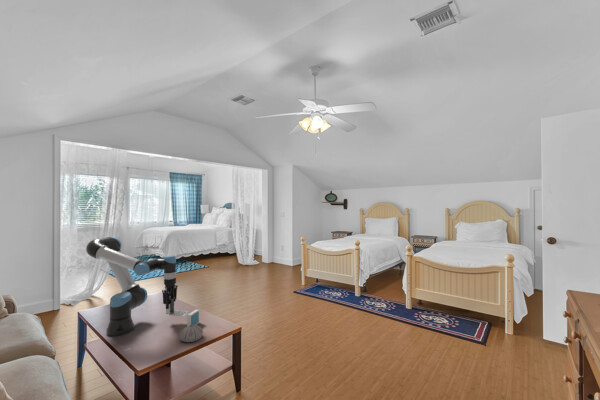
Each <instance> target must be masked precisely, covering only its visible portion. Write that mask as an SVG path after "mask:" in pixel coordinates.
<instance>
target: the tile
mask: <svg viewBox="0 0 600 400" xmlns="http://www.w3.org/2000/svg"><path fill="white" fill-rule="evenodd" d="M199 323H200V309H194V310H193V311H192V312H190V313H188V314H187V315H186V326H189V325H192V324H194V325H198V324H199Z"/></svg>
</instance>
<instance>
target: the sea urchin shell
mask: <svg viewBox="0 0 600 400" xmlns="http://www.w3.org/2000/svg"><path fill="white" fill-rule="evenodd" d="M203 333H204V331H203V329H202V327H201V326H199V325H198V324H197V325H194V324H192V325H189V326H187V325H186V326H185V327H184V328H182V329H181V331H180V333H179V339H180V341H181V342H183V343H194V342H197V341H198V340H200V339H202V337H203Z"/></svg>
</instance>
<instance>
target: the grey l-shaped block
mask: <svg viewBox="0 0 600 400" xmlns="http://www.w3.org/2000/svg"><path fill="white" fill-rule="evenodd" d="M174 298H175V297H174ZM174 298H170V302H169V304H170V313H169V314H168V313H166V312H165V314H167V315H169V316H172V317H173V316H175V317H185V316H187V315H188V314H189V313H191V312H190V310H181V309H175V302H174Z"/></svg>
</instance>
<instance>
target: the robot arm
mask: <svg viewBox="0 0 600 400" xmlns="http://www.w3.org/2000/svg"><path fill="white" fill-rule="evenodd" d="M121 249H122V242H121V240H120V239H119V238H117V237H114V236H113V237H110V236H109V237H108V236H107V237H102V238H94V239H92V240H90V241H89V242H88V243H87V245H86V248H85V250H86V253H87V254H88V256H89V257H91V258H94V259H96V260H104V261H106V262H107V264H108V266H109V267H110V269H111V272H112V274H113V275H114V277H115V279H116V281H117V283H118V284H119V287H120V289H121V292H119V293H115V294H114V295H112V296H111V297H110V299H109V322H108V324H107V328H106V332H105V333H106V335H107V336H108V337H109V336H110V337H115V336H122V335H125V334H128V333H131V332H132V331H133V330H134V329H135V324H134V321H133V318H132V310H134V309H136V308H137V307H140V306H142V305H143V304H144V303H145V302H146V301H147V299H148V292H147V290H146V289H145V288H143V287H141V286H140V284H139V283H136V282H135V280H134V278H133V276H132V274H131V273H130V271H129V270H131V271H133V272H134V273H135V274H136V275H137V276H144V275H147V274H150V273H152V272H155V271H159V270H161V271H162V270H163V279H164V280H163V284H164V289H162V290H161V294H162V304H164V305H165V314H166V313H168V314H167V315H169V313H170V304H169V302H170V298H174V303H175V302H176V300H177V298H178V296H177V294H178V292H177V291H178V286H179V285H177V278H176V277H177V258H176V256H175V254H174V255H170V254H169V255H165V256H164V257H163V258H149V259H148V260H146V261H144V260H141V259H140V258H136V257H133V256H131V255H127V254H126V253H122V250H121Z"/></svg>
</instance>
